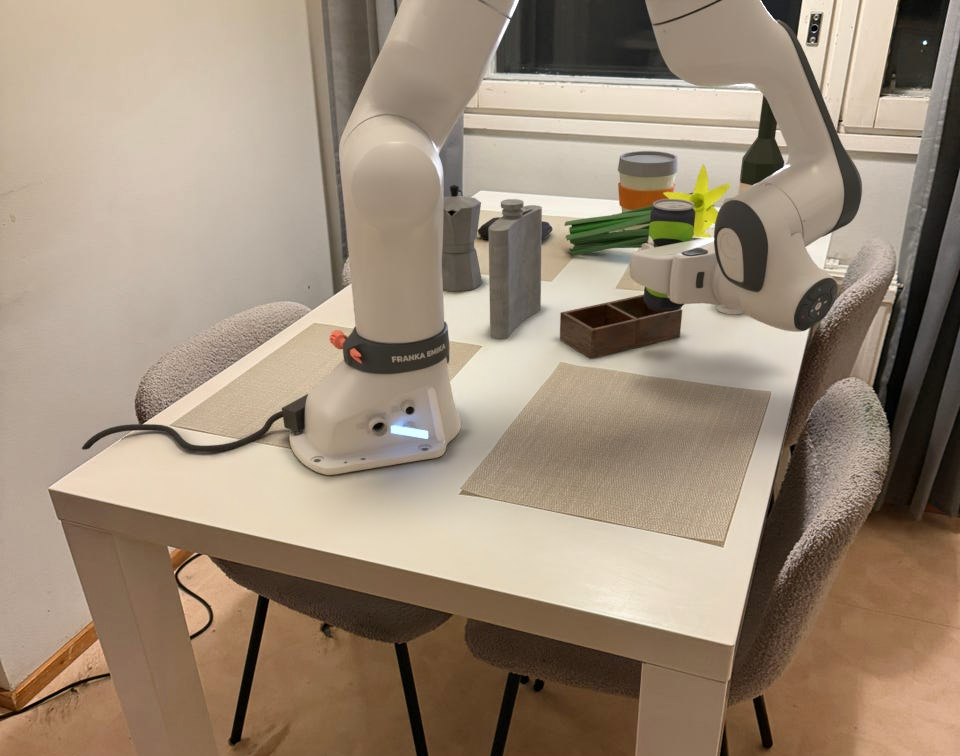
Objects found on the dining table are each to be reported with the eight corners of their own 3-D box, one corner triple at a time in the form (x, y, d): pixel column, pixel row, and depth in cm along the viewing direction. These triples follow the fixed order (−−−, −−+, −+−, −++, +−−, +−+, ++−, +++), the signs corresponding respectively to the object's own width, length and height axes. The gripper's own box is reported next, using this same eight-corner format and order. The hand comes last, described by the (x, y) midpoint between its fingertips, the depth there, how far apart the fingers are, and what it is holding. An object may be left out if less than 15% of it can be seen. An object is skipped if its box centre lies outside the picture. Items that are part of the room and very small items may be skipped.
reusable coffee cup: (614, 219, 203) (618, 150, 195) (671, 220, 202) (677, 150, 194) (614, 235, 193) (618, 163, 185) (673, 236, 191) (680, 163, 183)
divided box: (590, 359, 137) (591, 330, 135) (559, 339, 144) (560, 312, 142) (679, 337, 144) (682, 309, 141) (646, 319, 151) (648, 293, 148)
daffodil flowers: (593, 241, 192) (757, 215, 173) (577, 294, 186) (746, 273, 167) (561, 182, 180) (734, 147, 161) (543, 237, 174) (720, 207, 155)
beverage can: (688, 301, 136) (699, 200, 128) (681, 315, 131) (692, 210, 123) (647, 296, 138) (656, 197, 130) (639, 310, 133) (647, 207, 125)
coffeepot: (480, 296, 162) (478, 194, 153) (428, 295, 163) (423, 194, 153) (485, 269, 175) (483, 173, 166) (437, 268, 176) (433, 174, 167)
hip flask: (504, 340, 144) (503, 214, 134) (482, 336, 146) (479, 212, 135) (543, 307, 156) (545, 190, 146) (522, 304, 158) (522, 188, 148)
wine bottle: (777, 241, 187) (801, 85, 171) (765, 251, 181) (788, 90, 165) (738, 235, 191) (758, 82, 175) (725, 245, 185) (744, 88, 169)
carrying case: (556, 233, 195) (494, 227, 200) (557, 219, 194) (493, 213, 199) (539, 246, 187) (475, 240, 192) (540, 232, 185) (474, 226, 190)
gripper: (791, 235, 122) (723, 212, 133) (670, 259, 114) (608, 233, 125) (784, 280, 125) (718, 254, 136) (666, 306, 117) (606, 277, 128)
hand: (664, 244), depth 130 cm, fingers closed on beverage can, 5 cm apart
